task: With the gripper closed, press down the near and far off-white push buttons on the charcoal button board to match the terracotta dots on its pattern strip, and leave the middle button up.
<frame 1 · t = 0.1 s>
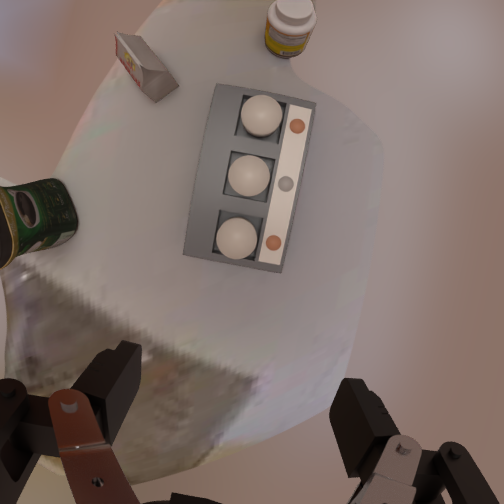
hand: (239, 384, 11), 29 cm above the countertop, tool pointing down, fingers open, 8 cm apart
coffee jar: (55, 212, 38), on the countertop
grey carton box: (154, 77, 35), on the countertop
button board: (248, 177, 38), on the countertop
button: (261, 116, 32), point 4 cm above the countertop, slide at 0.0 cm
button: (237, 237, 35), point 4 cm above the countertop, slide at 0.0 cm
middle button: (248, 176, 34), point 4 cm above the countertop, slide at 0.0 cm
supplement bottle: (284, 43, 34), on the countertop
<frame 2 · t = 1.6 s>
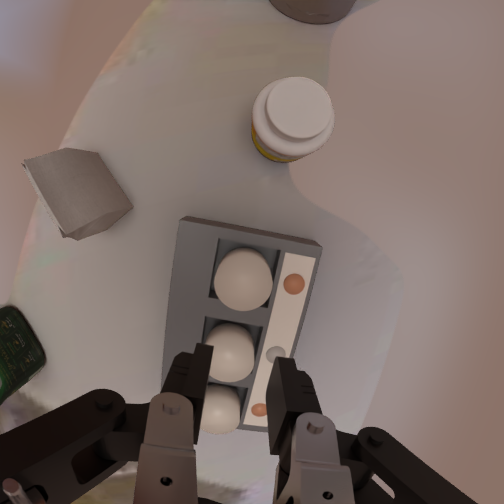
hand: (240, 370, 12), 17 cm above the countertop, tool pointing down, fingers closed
coffee jar: (20, 339, 31), on the countertop
grey carton box: (102, 191, 27), on the countertop
button board: (231, 332, 30), on the countertop
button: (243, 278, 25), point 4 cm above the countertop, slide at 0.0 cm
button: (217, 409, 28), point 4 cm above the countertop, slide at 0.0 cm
middle button: (228, 352, 26), point 4 cm above the countertop, slide at 0.0 cm
supplement bottle: (281, 133, 27), on the countertop
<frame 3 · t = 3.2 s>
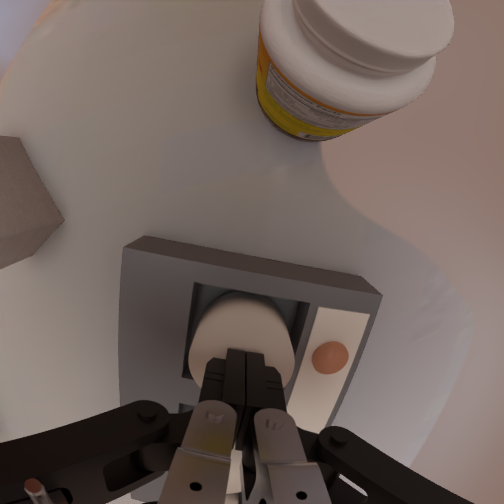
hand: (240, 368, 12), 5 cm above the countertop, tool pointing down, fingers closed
grey carton box: (24, 195, 15), on the countertop
button board: (223, 409, 18), on the countertop
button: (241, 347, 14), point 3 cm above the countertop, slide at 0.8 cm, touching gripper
middle button: (219, 454, 14), point 4 cm above the countertop, slide at 0.0 cm
supplement bottle: (307, 94, 15), on the countertop
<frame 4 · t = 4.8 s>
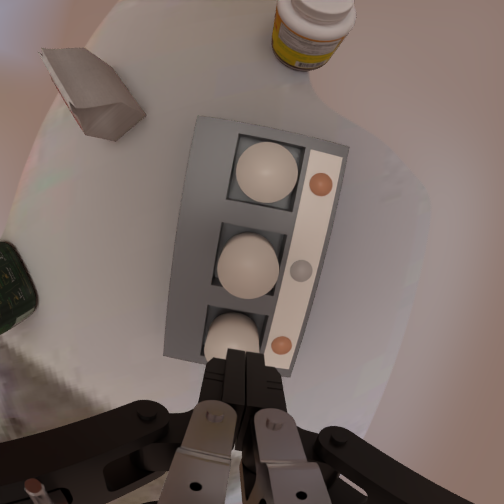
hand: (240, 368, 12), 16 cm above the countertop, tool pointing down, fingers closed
coffee jar: (12, 280, 28), on the countertop
grey carton box: (114, 103, 24), on the countertop
button board: (248, 251, 28), on the countertop
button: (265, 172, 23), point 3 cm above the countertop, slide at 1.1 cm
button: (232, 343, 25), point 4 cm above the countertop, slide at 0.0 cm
middle button: (248, 264, 24), point 4 cm above the countertop, slide at 0.0 cm
supplement bottle: (300, 47, 23), on the countertop
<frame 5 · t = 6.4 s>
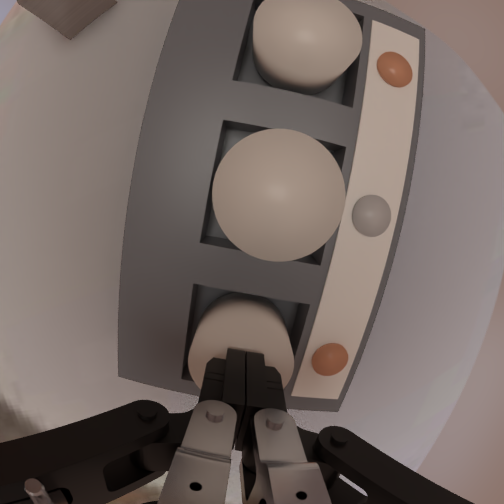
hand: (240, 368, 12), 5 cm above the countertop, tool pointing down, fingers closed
button board: (268, 191, 15), on the countertop
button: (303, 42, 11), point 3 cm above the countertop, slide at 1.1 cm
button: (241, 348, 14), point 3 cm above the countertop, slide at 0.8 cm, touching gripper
middle button: (276, 193, 11), point 4 cm above the countertop, slide at 0.0 cm
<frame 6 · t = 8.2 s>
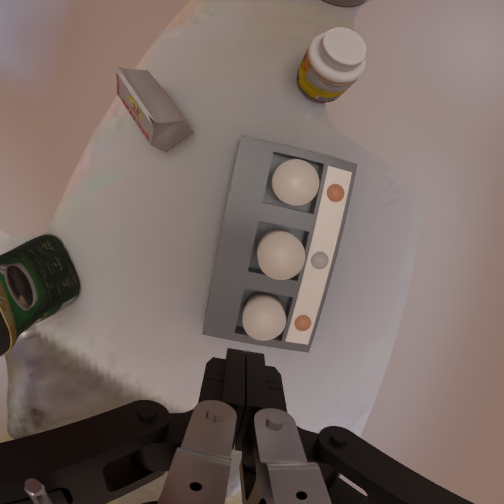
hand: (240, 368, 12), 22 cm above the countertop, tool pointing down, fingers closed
coffee jar: (53, 272, 34), on the countertop
grey carton box: (164, 119, 31), on the countertop
button board: (275, 246, 34), on the countertop
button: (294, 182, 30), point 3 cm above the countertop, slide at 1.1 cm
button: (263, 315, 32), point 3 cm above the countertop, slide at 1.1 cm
middle button: (279, 253, 30), point 4 cm above the countertop, slide at 0.0 cm
supplement bottle: (319, 82, 31), on the countertop
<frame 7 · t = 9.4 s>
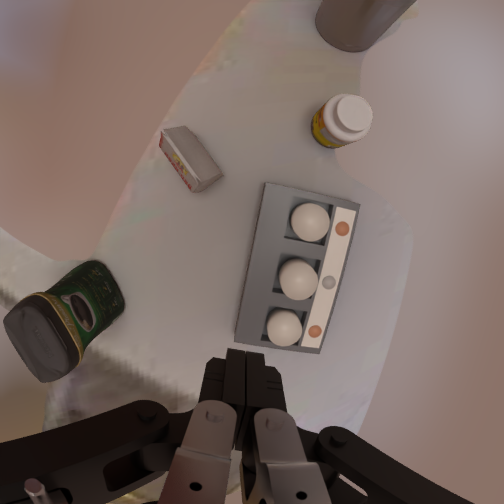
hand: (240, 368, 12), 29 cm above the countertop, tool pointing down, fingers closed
coffee jar: (98, 291, 42), on the countertop
grey carton box: (197, 162, 39), on the countertop
button board: (293, 269, 41), on the countertop
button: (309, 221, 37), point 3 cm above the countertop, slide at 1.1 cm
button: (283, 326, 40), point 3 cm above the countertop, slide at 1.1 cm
middle button: (297, 278, 37), point 4 cm above the countertop, slide at 0.0 cm
supplement bottle: (329, 128, 38), on the countertop
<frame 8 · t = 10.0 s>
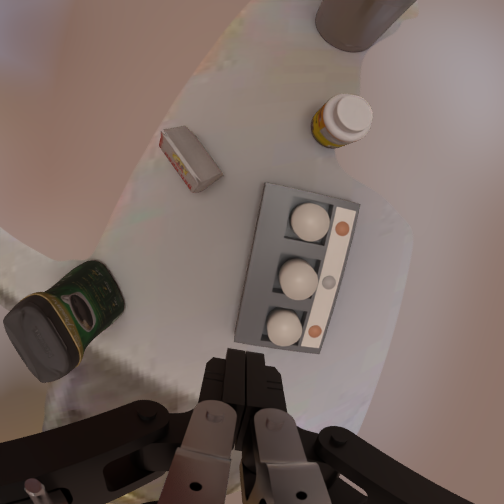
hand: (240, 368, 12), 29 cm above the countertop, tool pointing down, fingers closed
coffee jar: (98, 291, 42), on the countertop
grey carton box: (197, 162, 39), on the countertop
button board: (293, 269, 41), on the countertop
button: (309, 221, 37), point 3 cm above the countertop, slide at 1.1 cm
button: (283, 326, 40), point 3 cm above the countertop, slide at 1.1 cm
middle button: (297, 278, 37), point 4 cm above the countertop, slide at 0.0 cm
supplement bottle: (329, 128, 38), on the countertop
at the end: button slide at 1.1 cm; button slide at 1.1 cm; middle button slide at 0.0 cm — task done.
